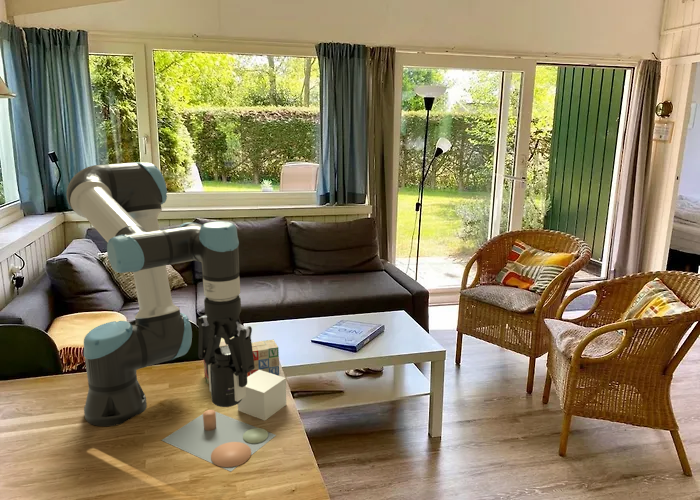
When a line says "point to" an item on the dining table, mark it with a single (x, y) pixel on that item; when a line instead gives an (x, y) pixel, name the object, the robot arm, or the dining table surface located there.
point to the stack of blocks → (259, 357)
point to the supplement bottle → (223, 378)
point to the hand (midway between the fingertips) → (227, 393)
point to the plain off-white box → (263, 395)
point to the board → (219, 439)
